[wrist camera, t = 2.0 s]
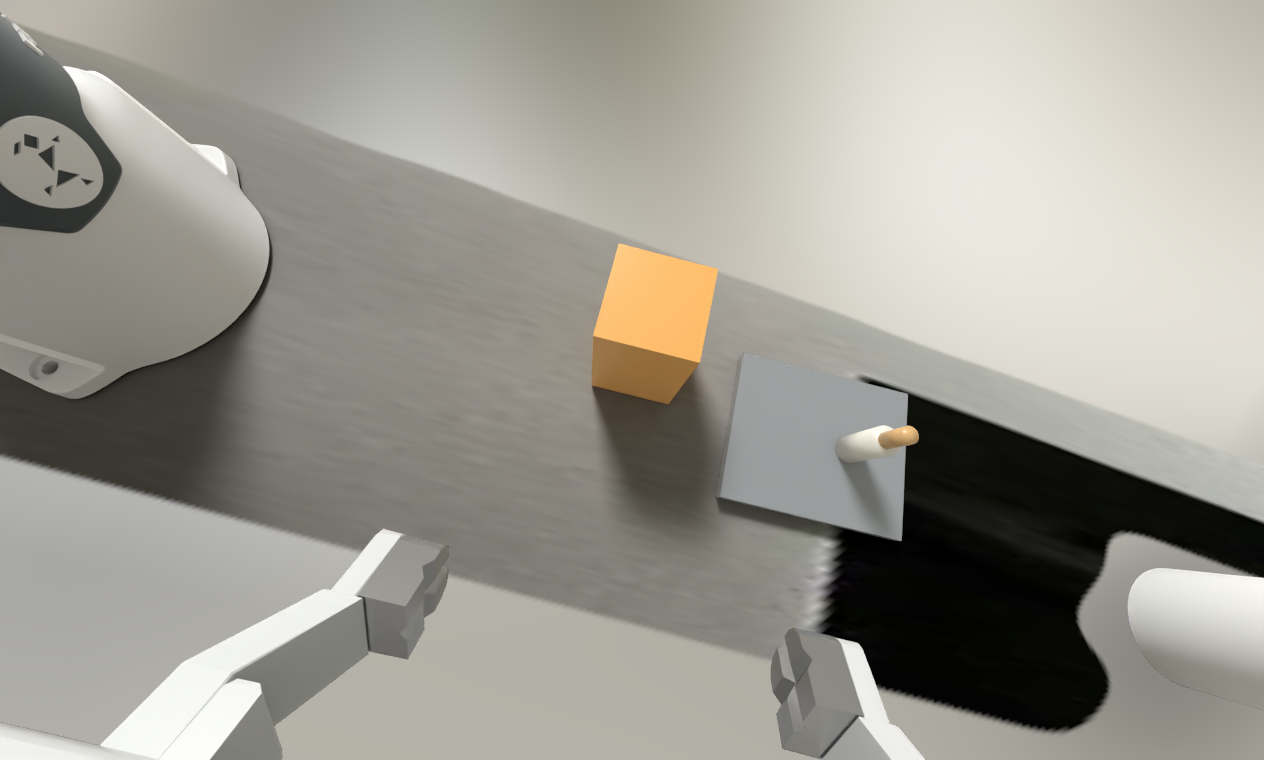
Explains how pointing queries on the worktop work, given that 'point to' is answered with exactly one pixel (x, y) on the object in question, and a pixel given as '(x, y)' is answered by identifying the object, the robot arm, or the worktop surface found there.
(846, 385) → the plate
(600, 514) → the worktop surface
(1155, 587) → the cylindrical container
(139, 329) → the robot arm
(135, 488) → the worktop surface
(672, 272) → the orange rectangular block
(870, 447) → the tan-tipped white capsule
